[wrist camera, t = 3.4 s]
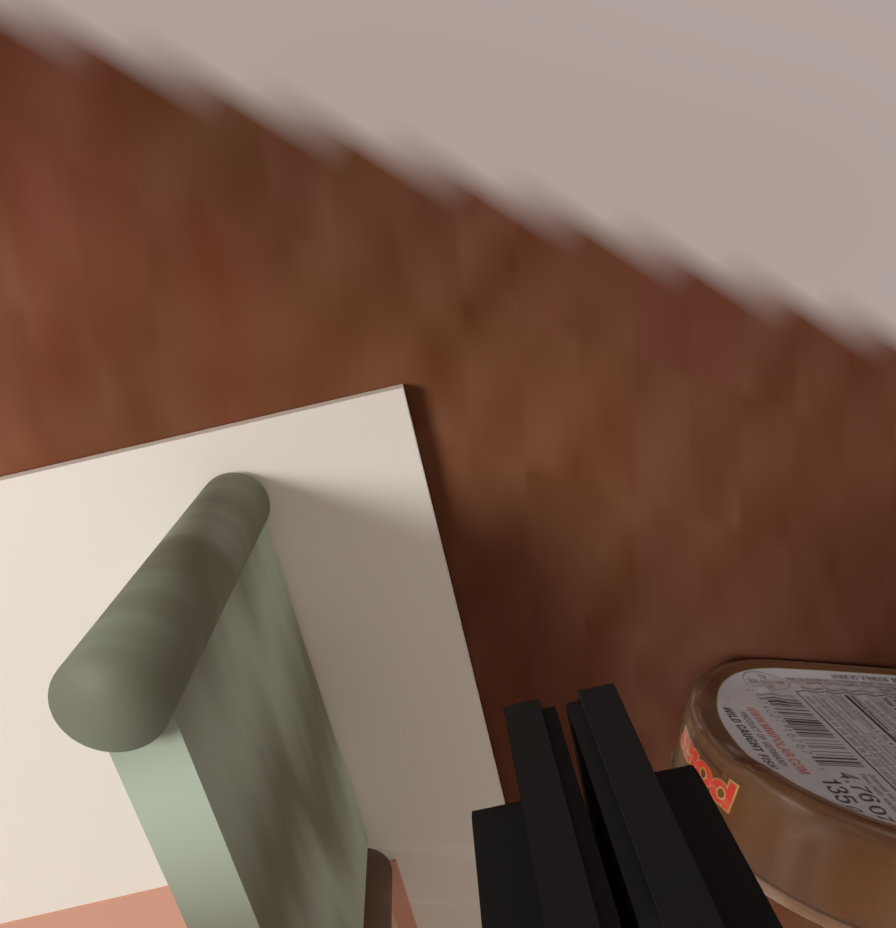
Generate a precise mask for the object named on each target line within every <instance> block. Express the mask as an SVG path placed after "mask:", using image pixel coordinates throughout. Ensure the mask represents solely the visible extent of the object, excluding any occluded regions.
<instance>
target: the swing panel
mask: <svg viewBox="0 0 896 928" xmlns="http://www.w3.org/2000/svg"><path fill="white" fill-rule="evenodd" d="M269 512H270V501H269V497H268V494H267V492H266V490H265V489H264V488H263V486H262V485H261V484H260V483H259V482H258V481H257V480H255V479H254V478H252V477H250V476H248V475H245V474H242V473H234V472H232V473H224V474H221V475H218V476H216V477H215V478H213V479H212V480H211V481H209V482H208V483H207V485H206V486H205V487H204V488H203V490H202V491H201V492H200V493H199V494H198V496H197V497H196V498H195V499H194V501H193V502H192V503H191V504H190V506H189V507H188V508H187V509H186V511H185V512H184V513H183V514H182V516H181V517H180V518H179V519H178V521H177V522H176V523H175V524H174V525H173V527H172V528H171V529H170V530H169V532H168V533H167V534H166V535H165V537H164V538H163V539H162V540H161V542H160V543H159V544H158V545H157V547H156V548H155V549H154V550H153V552H152V553H151V554H150V555H149V557H148V558H147V559H146V560H145V561H144V563H143V564H142V565H141V566H140V568H139V569H138V570H137V571H136V573H135V574H134V575H133V576H132V578H131V579H130V580H129V581H128V583H127V584H126V585H125V586H124V588H123V589H122V590H121V591H120V593H119V594H118V595H117V596H116V597H115V599H114V600H113V601H112V602H111V604H110V605H109V606H108V607H107V609H106V610H105V611H104V612H103V614H102V615H101V616H100V617H99V619H98V620H97V621H96V622H95V624H94V625H93V626H92V627H91V628H90V630H89V631H88V632H87V633H86V635H85V636H84V637H83V638H82V640H81V641H80V642H79V643H78V645H77V646H76V647H75V648H74V650H73V651H72V652H71V653H70V655H69V656H68V657H67V658H66V660H65V661H64V662H63V663H62V664H61V666H60V667H59V668H58V669H57V671H56V672H55V674H54V675H53V677H52V679H51V682H50V685H49V689H48V704H49V708H50V711H51V714H52V716H53V718H54V720H55V722H56V723H57V724H58V726H59V727H60V728H61V729H62V730H63V731H64V732H65V733H66V734H67V735H68V736H69V737H70V738H72V739H73V740H75V741H76V742H78V743H80V744H82V745H84V746H86V747H89V748H92V749H95V750H99V751H104V752H109V754H110V756H111V758H112V761H113V763H114V765H115V767H116V770H117V772H118V774H119V776H120V778H121V781H122V783H123V785H124V787H125V790H126V792H127V794H128V796H129V799H130V801H131V803H132V805H133V807H134V810H135V812H136V814H137V816H138V819H139V821H140V823H141V825H142V828H143V830H144V832H145V834H146V837H147V839H148V841H149V843H150V845H151V848H152V850H153V852H154V854H155V857H156V859H157V861H158V863H159V866H160V868H161V870H162V872H163V874H164V877H165V879H166V881H167V883H168V886H169V888H170V890H171V892H172V895H173V897H174V899H175V901H176V903H177V906H178V908H179V910H180V912H181V915H182V917H183V919H184V921H185V924H186V926H187V928H363V924H364V906H365V887H366V869H367V850H368V838H367V835H366V831H365V828H364V825H363V822H362V819H361V816H360V813H359V810H358V807H357V804H356V801H355V798H354V795H353V792H352V788H351V785H350V782H349V779H348V776H347V773H346V770H345V767H344V764H343V761H342V758H341V755H340V752H339V749H338V745H337V742H336V739H335V736H334V733H333V730H332V727H331V724H330V721H329V718H328V715H327V712H326V709H325V706H324V702H323V699H322V696H321V693H320V690H319V687H318V684H317V681H316V678H315V675H314V672H313V669H312V666H311V663H310V659H309V656H308V653H307V650H306V647H305V644H304V641H303V638H302V635H301V632H300V629H299V626H298V623H297V620H296V616H295V613H294V610H293V607H292V604H291V601H290V598H289V595H288V592H287V589H286V586H285V583H284V580H283V577H282V573H281V570H280V567H279V564H278V561H277V558H276V555H275V552H274V549H273V546H272V543H271V540H270V537H269V534H268V530H267V527H266V524H265V523H266V521H267V519H268V516H269Z"/></svg>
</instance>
